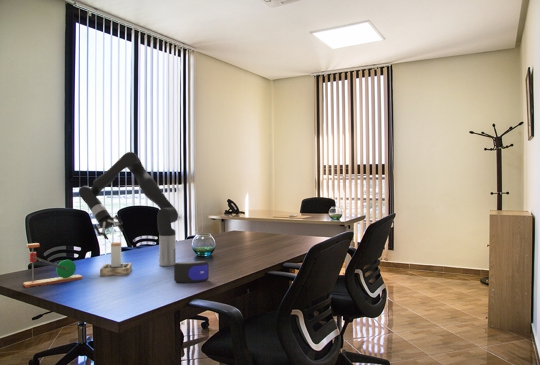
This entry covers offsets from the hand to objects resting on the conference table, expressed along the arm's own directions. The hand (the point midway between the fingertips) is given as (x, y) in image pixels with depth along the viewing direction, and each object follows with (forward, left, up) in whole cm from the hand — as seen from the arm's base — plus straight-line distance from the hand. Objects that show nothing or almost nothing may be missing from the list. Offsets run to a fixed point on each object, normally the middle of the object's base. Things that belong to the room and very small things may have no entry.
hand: (114, 234), depth 229 cm
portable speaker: (-41, +45, -19) cm, 63 cm away
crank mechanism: (+24, +29, -19) cm, 42 cm away
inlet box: (-3, +15, -18) cm, 24 cm away
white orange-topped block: (-3, +15, -18) cm, 23 cm away
